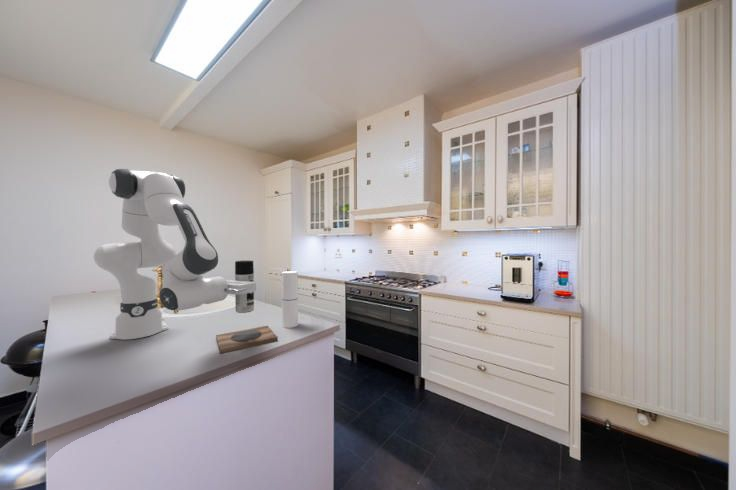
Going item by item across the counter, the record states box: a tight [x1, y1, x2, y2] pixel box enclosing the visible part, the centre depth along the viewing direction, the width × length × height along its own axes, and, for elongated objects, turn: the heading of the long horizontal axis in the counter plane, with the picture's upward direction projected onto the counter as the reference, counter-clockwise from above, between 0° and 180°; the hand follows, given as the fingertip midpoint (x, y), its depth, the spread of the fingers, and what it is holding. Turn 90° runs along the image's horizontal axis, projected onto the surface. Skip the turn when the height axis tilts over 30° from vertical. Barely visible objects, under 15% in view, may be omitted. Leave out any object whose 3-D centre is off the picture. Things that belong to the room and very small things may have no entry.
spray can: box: [234, 260, 255, 314], centre depth 103 cm, size 7×7×20 cm
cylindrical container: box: [281, 270, 299, 329], centre depth 121 cm, size 7×7×25 cm
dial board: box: [215, 325, 278, 354], centre depth 104 cm, size 16×20×2 cm
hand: (246, 282), depth 104 cm, fingers closed on spray can, 7 cm apart
